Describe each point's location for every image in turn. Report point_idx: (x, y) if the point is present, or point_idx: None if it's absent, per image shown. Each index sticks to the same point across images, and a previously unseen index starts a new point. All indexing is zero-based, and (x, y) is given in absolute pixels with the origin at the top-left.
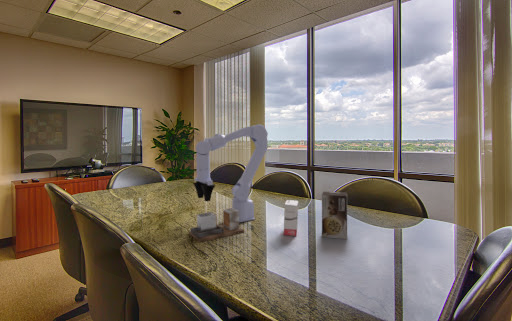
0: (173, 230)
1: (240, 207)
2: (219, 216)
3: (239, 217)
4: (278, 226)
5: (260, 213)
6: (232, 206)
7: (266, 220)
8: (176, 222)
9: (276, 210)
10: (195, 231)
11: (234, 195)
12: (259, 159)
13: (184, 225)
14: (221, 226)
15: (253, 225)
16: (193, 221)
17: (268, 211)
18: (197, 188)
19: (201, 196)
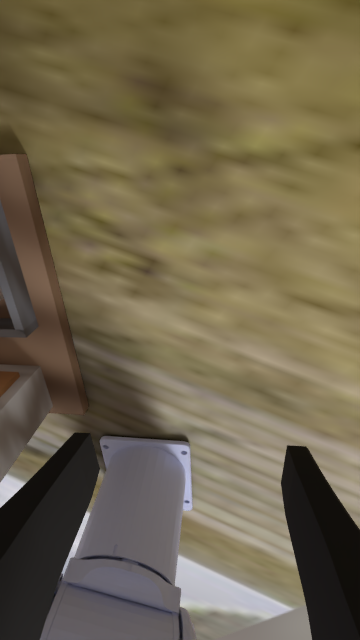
0: (145, 49)
1: (85, 527)
2: (267, 430)
3: (109, 468)
4: (5, 501)
5: (189, 545)
6: (140, 517)
7: (87, 513)
8: (355, 142)
9: (191, 586)
10: None
11: (90, 618)
12: None
13: (224, 183)
14: (39, 356)
15: (45, 459)
16: (277, 275)
17: (196, 569)
18: (346, 618)
19: (286, 487)
